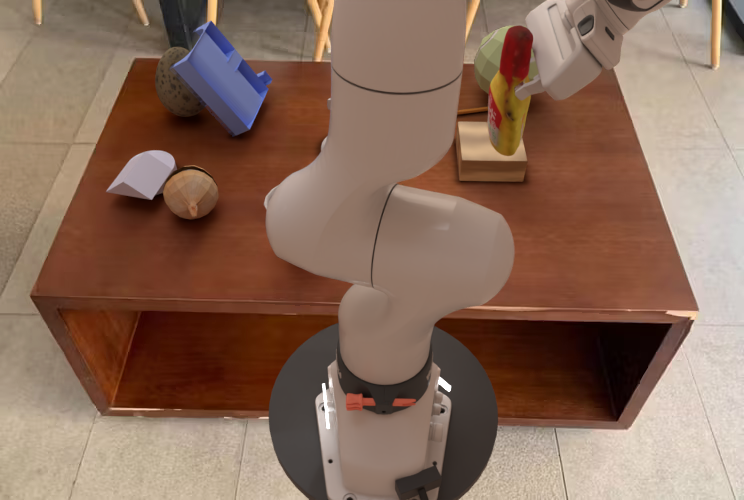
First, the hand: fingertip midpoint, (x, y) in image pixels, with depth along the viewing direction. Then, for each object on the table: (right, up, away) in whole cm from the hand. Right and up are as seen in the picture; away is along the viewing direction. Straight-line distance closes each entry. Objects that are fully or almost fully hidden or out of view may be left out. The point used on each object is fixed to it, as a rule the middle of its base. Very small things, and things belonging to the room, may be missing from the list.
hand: (513, 77), depth 102 cm
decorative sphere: (+10, +18, +34) cm, 40 cm away
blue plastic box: (-49, +10, +32) cm, 59 cm away
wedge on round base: (-65, -17, +18) cm, 69 cm away
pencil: (+6, +4, +41) cm, 42 cm away
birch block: (+1, -9, +30) cm, 31 cm away
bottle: (0, -8, +9) cm, 12 cm away
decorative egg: (-60, +3, +41) cm, 72 cm away
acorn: (-54, -13, +23) cm, 60 cm away
